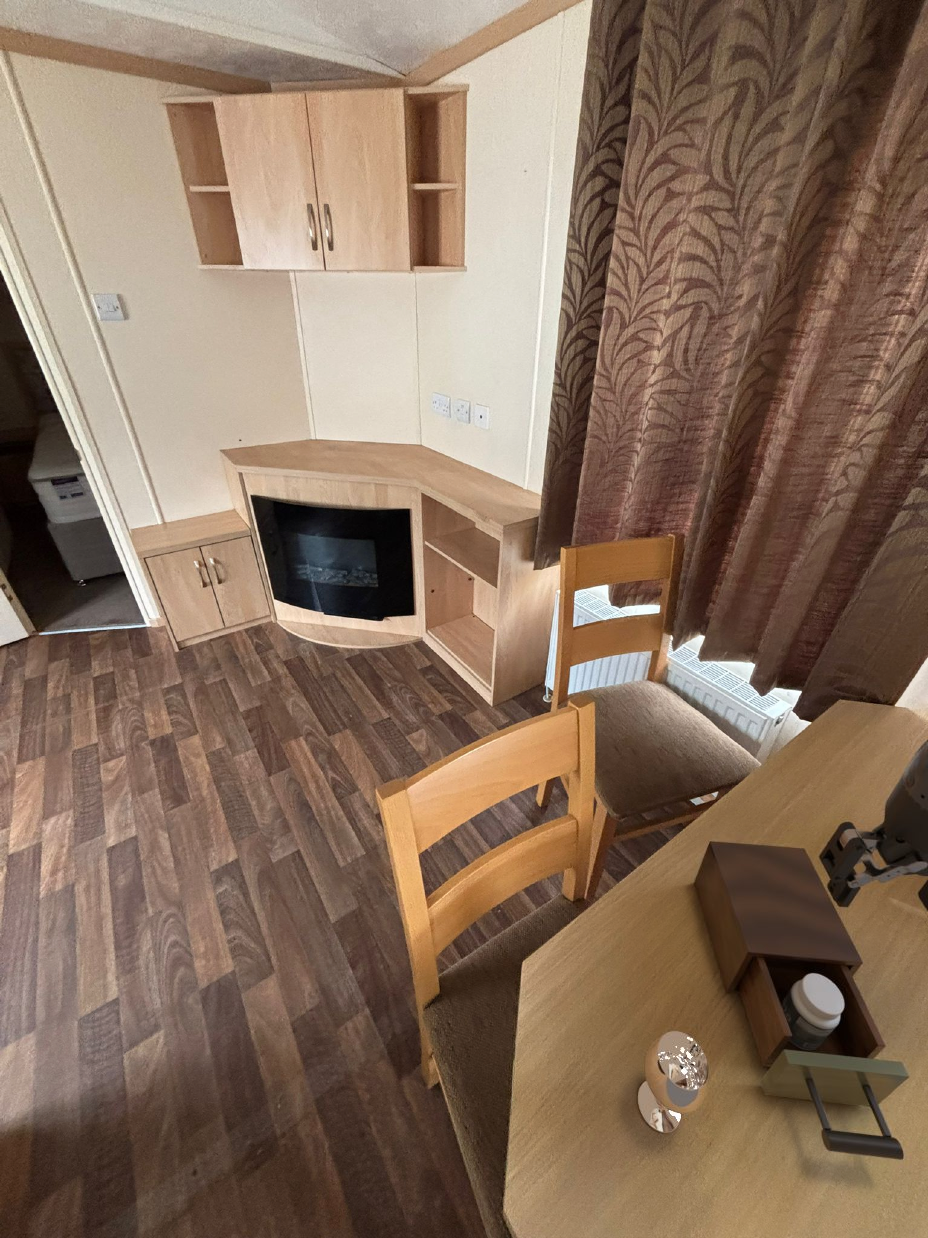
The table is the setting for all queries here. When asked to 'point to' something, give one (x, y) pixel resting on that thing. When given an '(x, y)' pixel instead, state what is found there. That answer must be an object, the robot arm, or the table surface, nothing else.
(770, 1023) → the drawer
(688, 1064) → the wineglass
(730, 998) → the table surface
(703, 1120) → the table surface
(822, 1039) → the pill bottle
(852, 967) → the cabinet
